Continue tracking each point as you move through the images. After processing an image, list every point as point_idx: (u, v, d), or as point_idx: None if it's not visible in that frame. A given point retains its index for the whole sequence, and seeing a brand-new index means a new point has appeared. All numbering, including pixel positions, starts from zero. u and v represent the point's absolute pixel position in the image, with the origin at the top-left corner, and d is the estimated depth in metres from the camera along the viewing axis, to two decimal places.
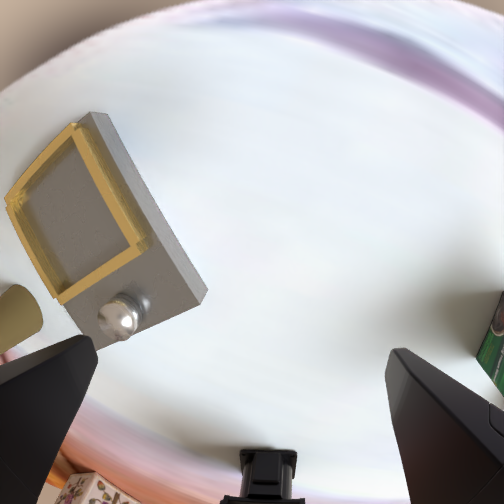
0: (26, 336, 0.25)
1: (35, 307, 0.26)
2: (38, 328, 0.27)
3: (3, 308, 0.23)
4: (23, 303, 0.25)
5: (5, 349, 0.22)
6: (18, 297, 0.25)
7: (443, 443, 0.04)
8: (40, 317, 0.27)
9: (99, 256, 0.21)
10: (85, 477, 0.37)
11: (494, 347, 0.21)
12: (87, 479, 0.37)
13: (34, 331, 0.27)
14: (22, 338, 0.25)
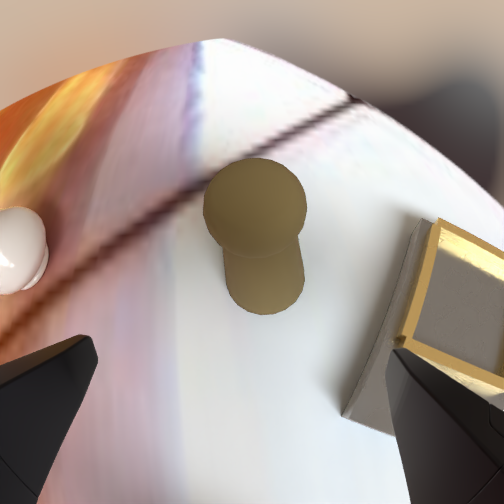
0: (257, 299, 0.20)
1: (295, 297, 0.22)
2: (261, 311, 0.22)
3: None
4: (301, 278, 0.22)
5: (254, 273, 0.18)
6: None
7: (443, 443, 0.04)
8: (281, 309, 0.22)
9: (467, 359, 0.17)
10: None
11: None
12: None
13: (259, 307, 0.21)
14: (258, 294, 0.20)
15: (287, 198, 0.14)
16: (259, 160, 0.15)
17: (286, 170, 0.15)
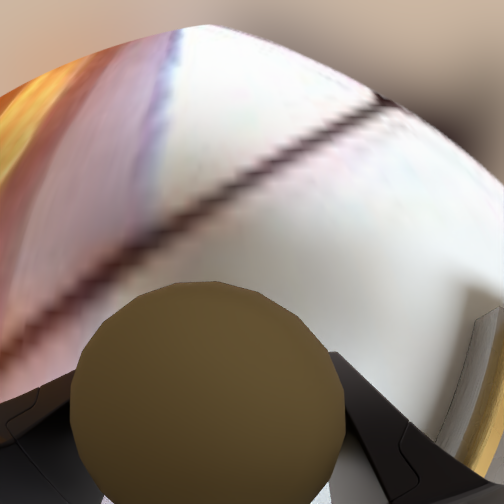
0: None
1: None
2: None
3: None
4: None
5: None
6: None
7: (349, 458, 0.04)
8: None
9: None
10: None
11: None
12: None
13: None
14: None
15: (291, 472, 0.03)
16: (209, 308, 0.05)
17: (296, 350, 0.04)
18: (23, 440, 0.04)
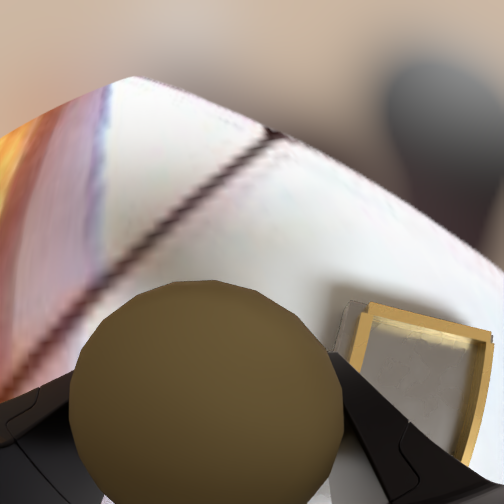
0: None
1: None
2: None
3: None
4: None
5: None
6: None
7: (350, 459, 0.04)
8: None
9: None
10: None
11: None
12: None
13: None
14: None
15: (289, 470, 0.03)
16: (207, 308, 0.05)
17: (294, 349, 0.04)
18: (23, 440, 0.04)
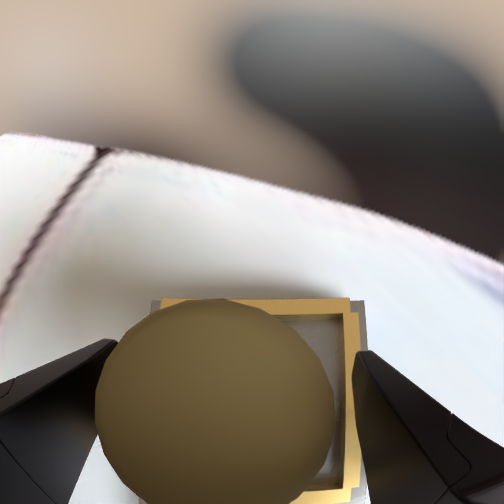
0: None
1: None
2: None
3: None
4: None
5: None
6: None
7: (397, 452, 0.04)
8: None
9: None
10: None
11: None
12: None
13: None
14: None
15: (288, 460, 0.04)
16: (218, 324, 0.05)
17: (291, 359, 0.05)
18: None
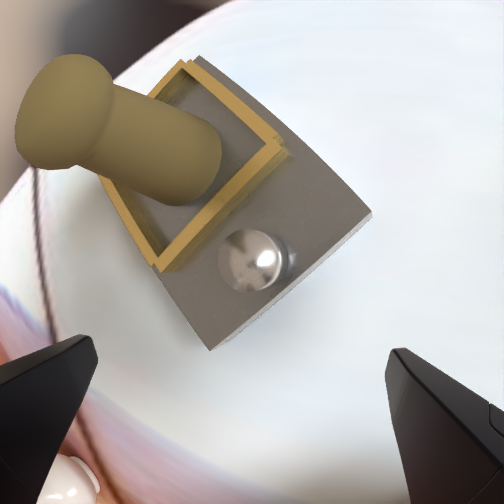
0: (172, 181, 0.16)
1: (216, 148, 0.17)
2: (196, 190, 0.17)
3: (166, 105, 0.14)
4: (201, 127, 0.16)
5: (126, 161, 0.13)
6: (195, 117, 0.17)
7: (443, 443, 0.04)
8: (214, 171, 0.17)
9: (220, 189, 0.18)
10: None
11: None
12: None
13: (188, 188, 0.17)
14: (165, 176, 0.15)
15: (58, 73, 0.08)
16: (34, 79, 0.09)
17: None
18: None
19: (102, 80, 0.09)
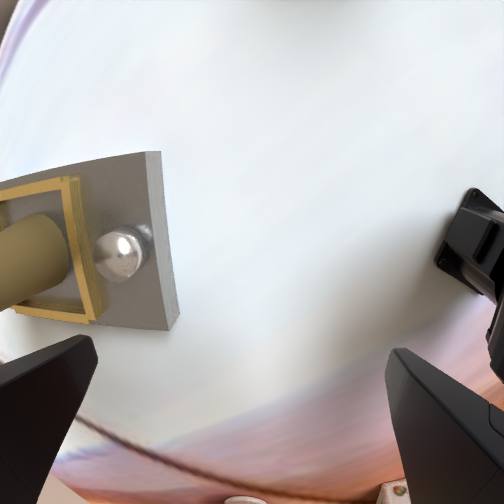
0: (43, 266, 0.17)
1: (47, 222, 0.19)
2: (62, 255, 0.19)
3: None
4: (27, 221, 0.17)
5: (7, 284, 0.14)
6: (20, 220, 0.18)
7: (443, 443, 0.04)
8: (59, 234, 0.19)
9: None
10: (381, 500, 0.29)
11: None
12: (382, 499, 0.28)
13: (56, 259, 0.18)
14: (36, 268, 0.17)
15: None
16: None
17: None
18: None
19: None
